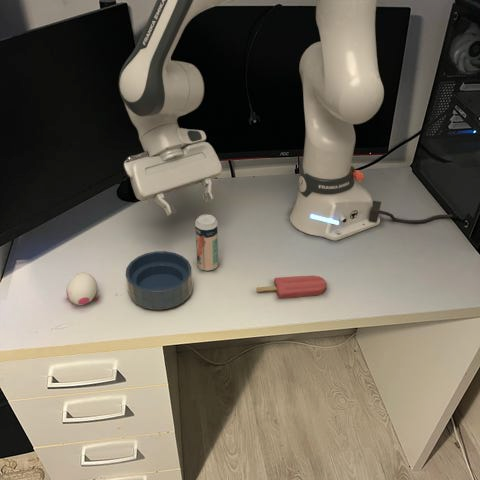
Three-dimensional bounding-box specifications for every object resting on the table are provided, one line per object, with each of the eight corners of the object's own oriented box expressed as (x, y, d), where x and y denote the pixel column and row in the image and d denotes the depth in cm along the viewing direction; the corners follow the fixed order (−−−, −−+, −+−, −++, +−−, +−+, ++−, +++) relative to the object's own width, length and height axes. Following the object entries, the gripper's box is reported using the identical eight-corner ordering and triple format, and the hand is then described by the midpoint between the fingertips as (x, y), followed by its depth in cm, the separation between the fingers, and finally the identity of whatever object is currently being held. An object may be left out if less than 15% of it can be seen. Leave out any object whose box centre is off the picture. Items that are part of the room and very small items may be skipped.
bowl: (182, 266, 115) (180, 246, 111) (200, 303, 106) (199, 282, 102) (123, 279, 111) (119, 258, 107) (137, 318, 102) (133, 297, 98)
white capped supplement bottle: (196, 259, 117) (194, 213, 108) (217, 258, 117) (217, 212, 109) (197, 272, 113) (194, 226, 105) (218, 271, 114) (218, 225, 105)
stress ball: (81, 299, 111) (58, 279, 107) (109, 283, 108) (86, 261, 104) (74, 323, 105) (49, 302, 101) (103, 306, 102) (78, 284, 99)
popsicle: (254, 278, 110) (323, 273, 111) (254, 284, 111) (322, 279, 112) (258, 295, 106) (329, 289, 107) (258, 300, 107) (328, 295, 109)
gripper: (123, 152, 102) (151, 217, 103) (210, 129, 111) (235, 189, 112) (116, 164, 108) (143, 226, 109) (200, 141, 117) (224, 198, 118)
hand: (191, 207), depth 111 cm, fingers open, 8 cm apart
